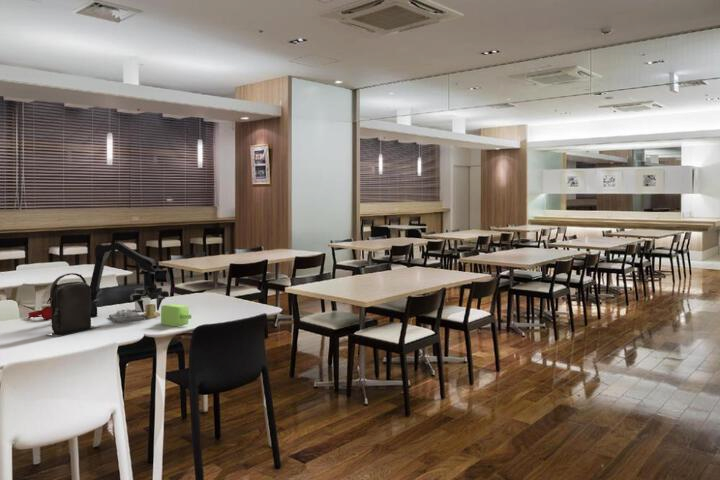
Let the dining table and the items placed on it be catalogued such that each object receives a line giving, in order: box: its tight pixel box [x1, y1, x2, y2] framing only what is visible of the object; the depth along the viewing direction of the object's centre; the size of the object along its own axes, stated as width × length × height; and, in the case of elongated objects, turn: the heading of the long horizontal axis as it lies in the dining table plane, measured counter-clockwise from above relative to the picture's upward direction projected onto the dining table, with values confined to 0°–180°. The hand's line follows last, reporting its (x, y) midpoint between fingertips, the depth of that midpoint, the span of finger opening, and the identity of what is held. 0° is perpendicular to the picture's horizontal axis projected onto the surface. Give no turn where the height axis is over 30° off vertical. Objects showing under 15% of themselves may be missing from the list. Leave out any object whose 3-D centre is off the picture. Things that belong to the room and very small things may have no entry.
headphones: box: [27, 305, 51, 320], centre depth 307 cm, size 15×7×20 cm
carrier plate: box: [108, 309, 146, 325], centre depth 300 cm, size 13×18×6 cm
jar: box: [134, 287, 152, 312], centre depth 324 cm, size 9×8×12 cm
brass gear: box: [140, 303, 161, 319], centre depth 307 cm, size 9×9×6 cm
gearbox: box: [160, 303, 192, 327], centre depth 288 cm, size 18×10×10 cm, turn 59°
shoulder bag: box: [46, 272, 101, 338], centre depth 274 cm, size 23×9×28 cm, turn 148°
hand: (150, 311), depth 307 cm, fingers open, 7 cm apart
